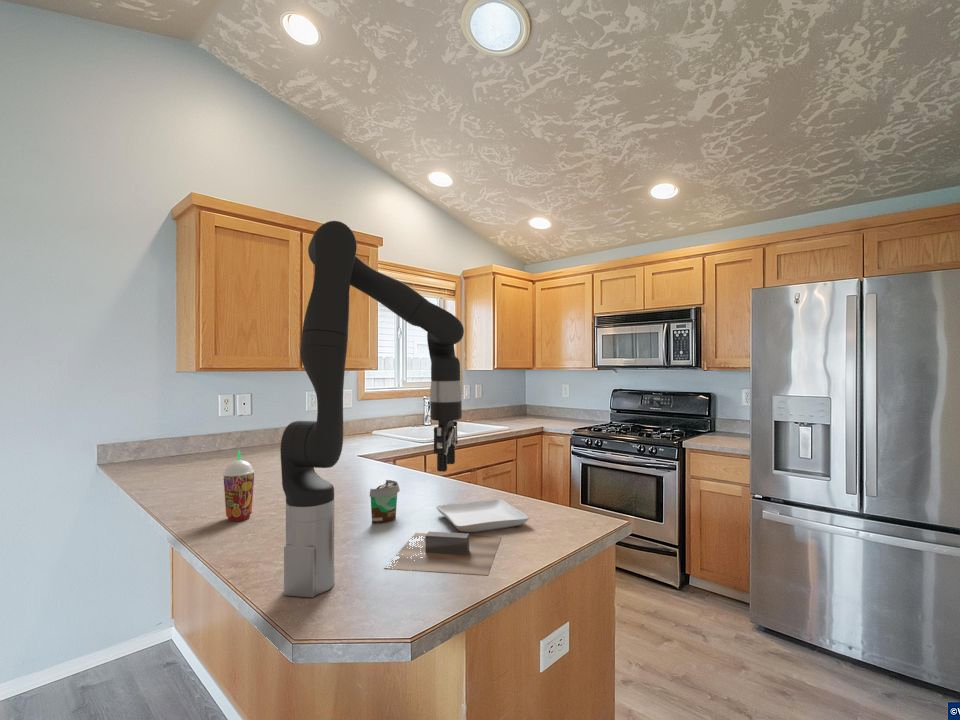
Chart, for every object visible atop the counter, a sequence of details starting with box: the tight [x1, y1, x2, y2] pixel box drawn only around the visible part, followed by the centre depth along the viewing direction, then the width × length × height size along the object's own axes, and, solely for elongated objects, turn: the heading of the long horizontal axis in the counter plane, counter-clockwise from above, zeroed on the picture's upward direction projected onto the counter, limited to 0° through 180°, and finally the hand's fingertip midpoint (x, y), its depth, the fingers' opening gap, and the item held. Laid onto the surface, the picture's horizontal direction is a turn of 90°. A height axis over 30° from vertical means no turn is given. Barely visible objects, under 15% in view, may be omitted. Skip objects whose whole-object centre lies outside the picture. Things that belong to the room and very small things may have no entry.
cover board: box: [385, 531, 502, 576], centre depth 114 cm, size 23×23×5 cm
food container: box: [369, 479, 400, 525], centre depth 140 cm, size 12×6×10 cm, turn 168°
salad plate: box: [436, 498, 530, 533], centre depth 137 cm, size 21×21×3 cm
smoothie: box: [222, 450, 256, 522], centre depth 142 cm, size 8×8×20 cm
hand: (446, 467), depth 115 cm, fingers open, 8 cm apart
